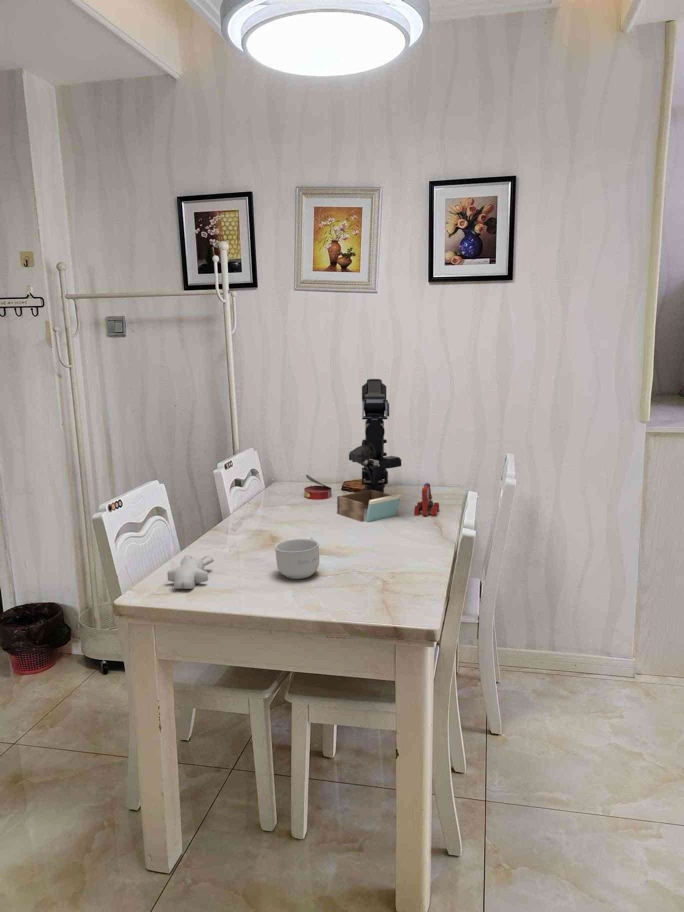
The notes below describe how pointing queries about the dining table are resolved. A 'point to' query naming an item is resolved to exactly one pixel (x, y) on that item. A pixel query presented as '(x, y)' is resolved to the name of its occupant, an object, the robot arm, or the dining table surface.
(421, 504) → the toy fire truck
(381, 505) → the teal flat slab
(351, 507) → the crate
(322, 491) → the canned food
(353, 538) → the dining table surface
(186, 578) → the bunny figurine
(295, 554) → the teacup
